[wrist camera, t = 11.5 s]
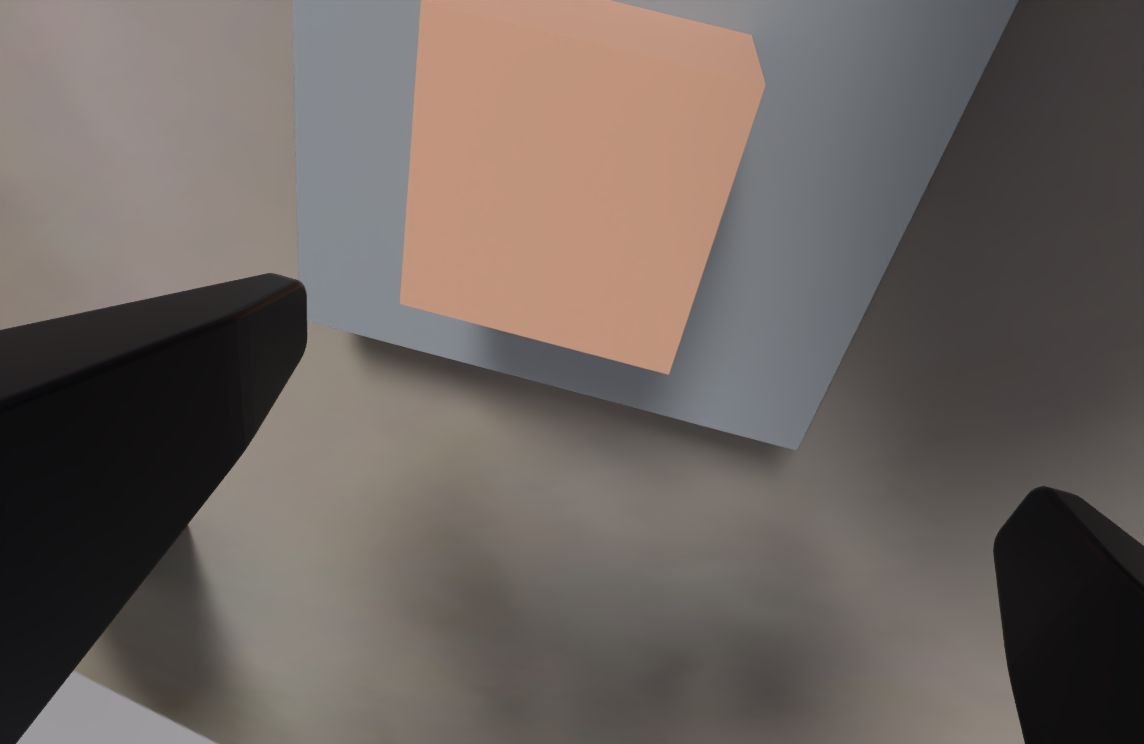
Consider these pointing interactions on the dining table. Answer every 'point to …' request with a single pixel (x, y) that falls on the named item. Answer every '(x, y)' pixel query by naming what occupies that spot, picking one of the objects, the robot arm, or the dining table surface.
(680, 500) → the dining table surface
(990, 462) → the dining table surface
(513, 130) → the terracotta cube
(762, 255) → the slate base
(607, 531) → the dining table surface
